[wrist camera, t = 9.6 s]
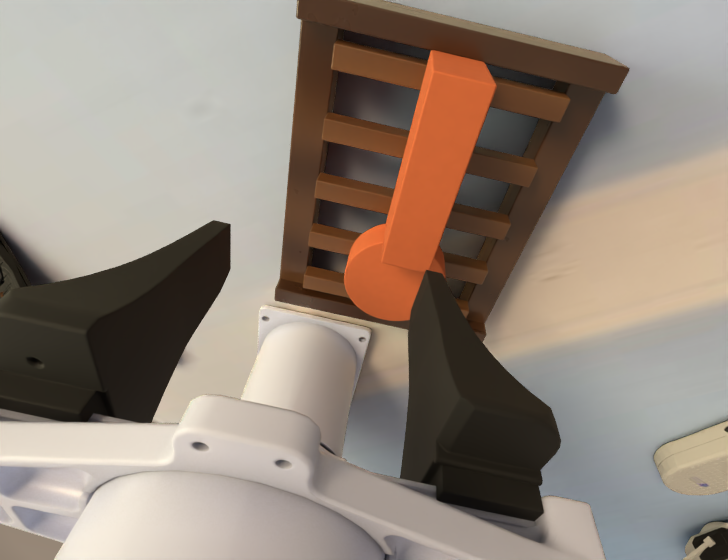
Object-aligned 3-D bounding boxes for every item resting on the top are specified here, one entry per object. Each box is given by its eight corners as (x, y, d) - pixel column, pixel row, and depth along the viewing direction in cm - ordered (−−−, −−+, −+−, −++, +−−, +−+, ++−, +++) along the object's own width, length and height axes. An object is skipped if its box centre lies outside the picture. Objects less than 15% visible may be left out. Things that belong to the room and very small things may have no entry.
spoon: (393, 39, 16) (387, 58, 14) (522, 70, 17) (542, 96, 14) (341, 289, 25) (331, 333, 22) (428, 308, 25) (429, 354, 22)
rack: (476, 315, 28) (481, 346, 26) (285, 273, 28) (274, 300, 26) (606, 54, 18) (631, 68, 16) (313, -17, 18) (297, -12, 16)
